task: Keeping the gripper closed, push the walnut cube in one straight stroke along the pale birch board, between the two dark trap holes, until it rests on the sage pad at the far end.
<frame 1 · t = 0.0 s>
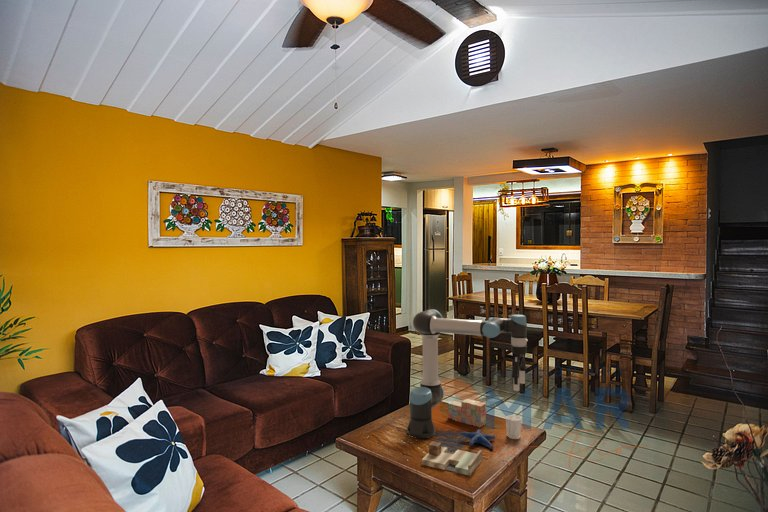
hand: (519, 386, 234), 28 cm above the table, tool pointing down, fingers open, 13 cm apart
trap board: (451, 462, 213), on the table
stack of blocks: (466, 422, 262), on the table
white cup: (513, 437, 240), on the table
walnut cube: (435, 453, 217), point 2 cm above the table, touching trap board
starfish: (480, 444, 233), on the table
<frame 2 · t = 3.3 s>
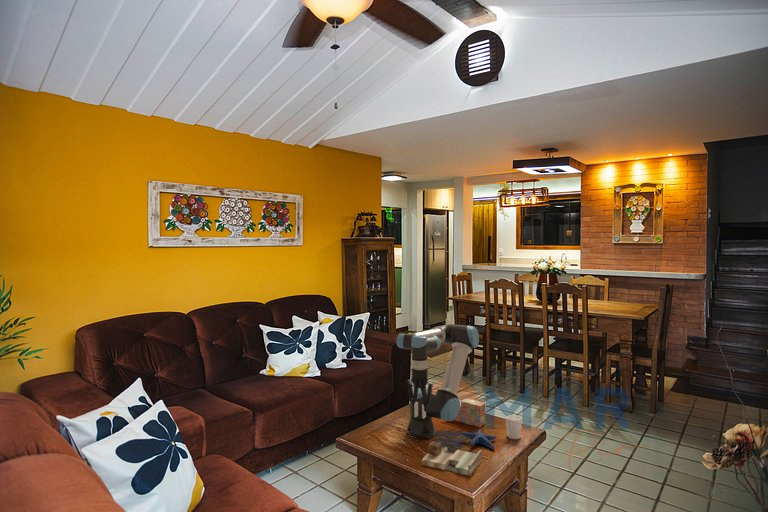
hand: (420, 416, 220), 19 cm above the table, tool pointing down, fingers open, 3 cm apart
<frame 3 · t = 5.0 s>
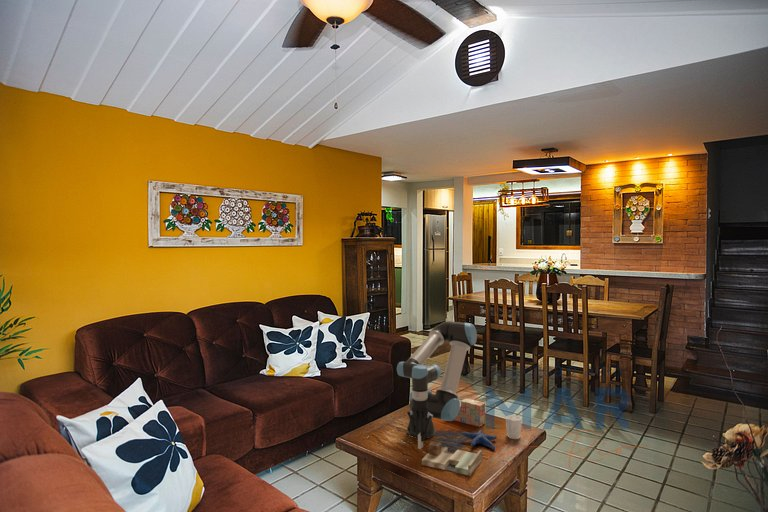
hand: (420, 447, 220), 4 cm above the table, tool pointing down, fingers closed
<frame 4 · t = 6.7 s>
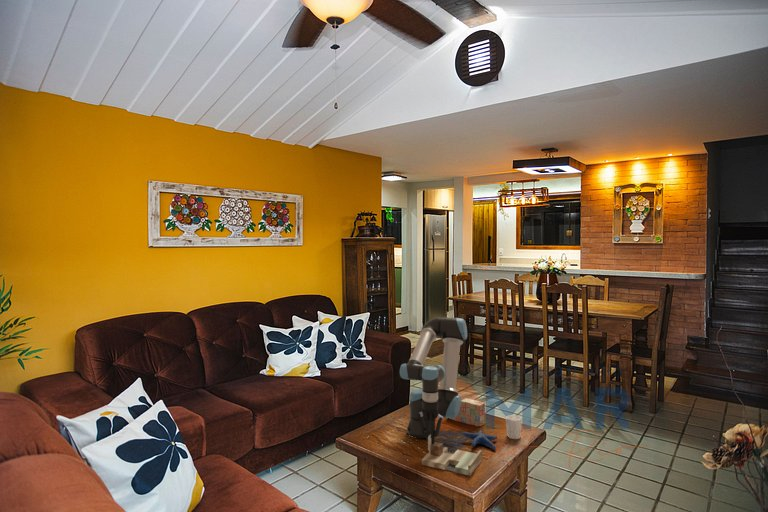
hand: (430, 449, 217), 4 cm above the table, tool pointing down, fingers closed
walnut cube: (436, 453, 216), point 3 cm above the table, touching gripper
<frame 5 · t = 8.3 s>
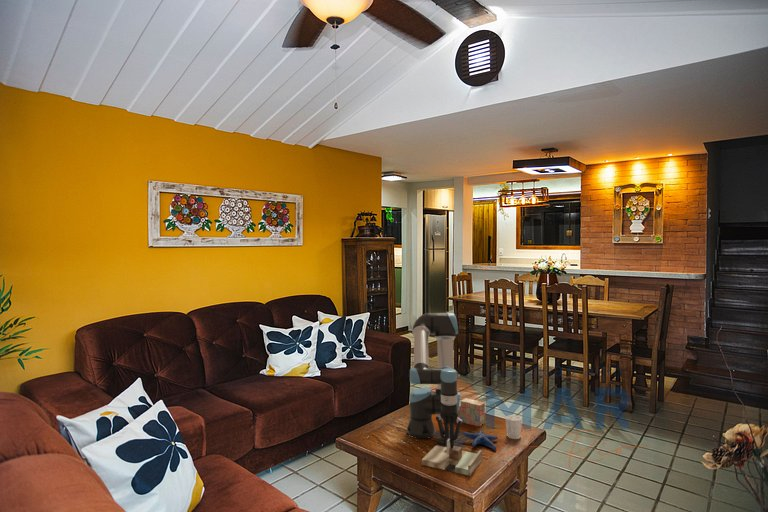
hand: (449, 453, 213), 4 cm above the table, tool pointing down, fingers closed
walnut cube: (455, 457, 211), point 3 cm above the table, touching gripper
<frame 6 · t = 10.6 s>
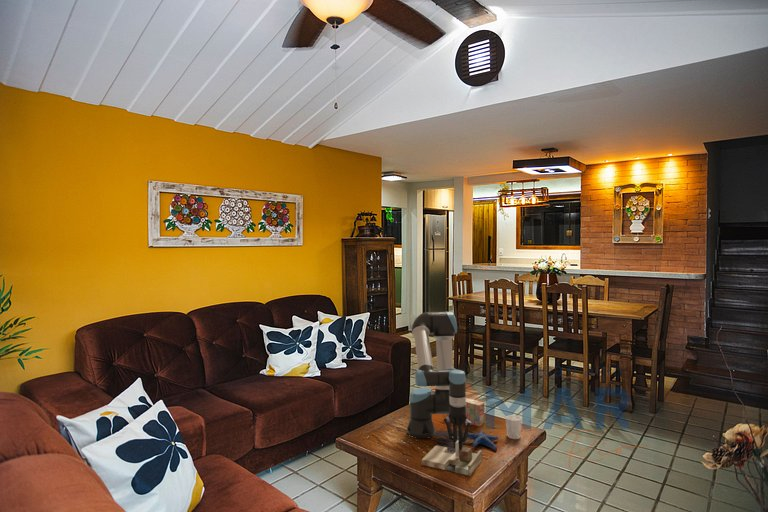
hand: (458, 455, 211), 4 cm above the table, tool pointing down, fingers closed
walnut cube: (466, 459, 209), point 3 cm above the table, tilted 7°, touching gripper, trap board
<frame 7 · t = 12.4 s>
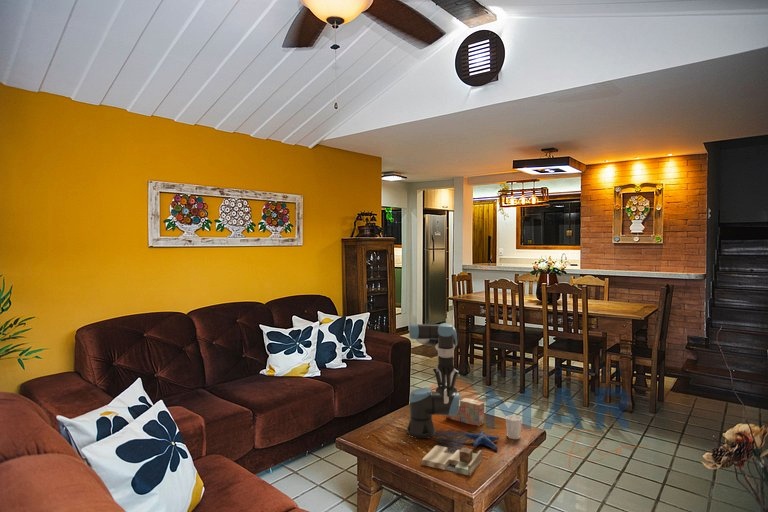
hand: (446, 402, 228), 23 cm above the table, tool pointing down, fingers closed
walnut cube: (466, 460, 209), point 2 cm above the table, touching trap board
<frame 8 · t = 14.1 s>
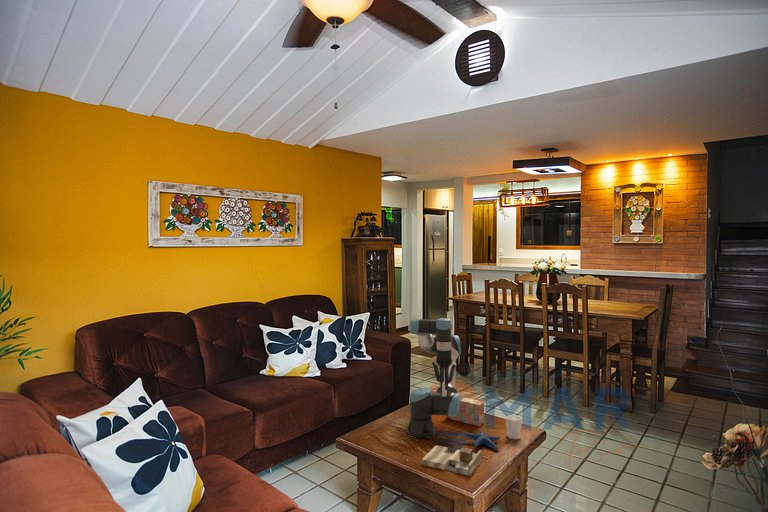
hand: (444, 395, 233), 24 cm above the table, tool pointing down, fingers closed
at the end: walnut cube 0.6 cm from the target spot on the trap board, point 2.5 cm above the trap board's base; walnut cube tilted 0° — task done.
